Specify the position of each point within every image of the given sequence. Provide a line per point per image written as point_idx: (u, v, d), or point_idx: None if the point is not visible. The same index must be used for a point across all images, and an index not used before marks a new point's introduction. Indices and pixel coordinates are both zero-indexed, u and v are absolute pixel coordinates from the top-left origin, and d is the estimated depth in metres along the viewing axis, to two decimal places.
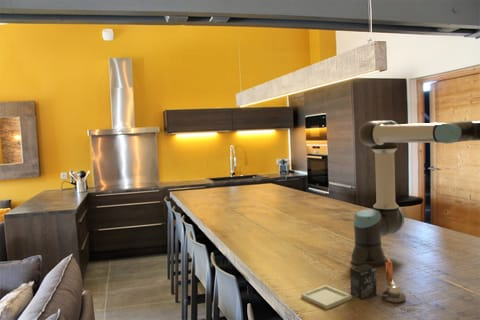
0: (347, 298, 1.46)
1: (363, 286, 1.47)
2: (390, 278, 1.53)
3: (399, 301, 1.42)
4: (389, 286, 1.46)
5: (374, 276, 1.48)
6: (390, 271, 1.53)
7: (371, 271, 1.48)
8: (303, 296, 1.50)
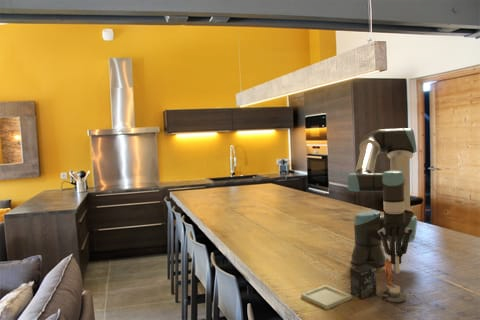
0: (347, 298, 1.46)
1: (363, 286, 1.47)
2: (389, 278, 1.53)
3: (399, 301, 1.42)
4: (389, 286, 1.46)
5: (374, 276, 1.48)
6: (389, 271, 1.53)
7: (371, 271, 1.48)
8: (303, 296, 1.50)
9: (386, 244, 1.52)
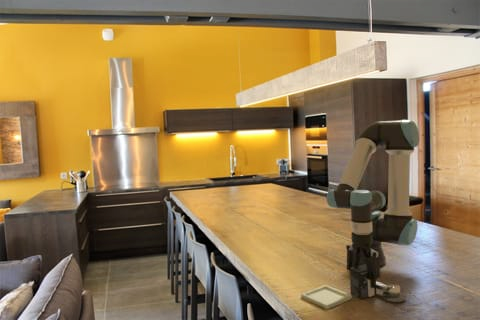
0: (347, 298, 1.46)
1: (363, 286, 1.47)
2: None
3: (399, 301, 1.42)
4: (391, 287, 1.45)
5: None
6: None
7: None
8: (303, 296, 1.50)
9: None
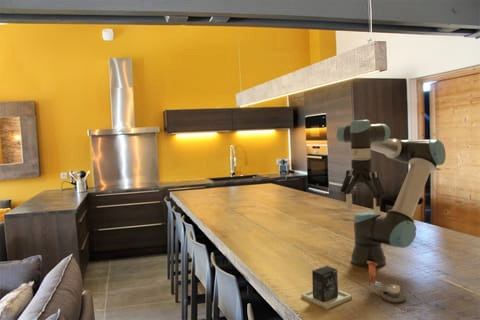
0: (347, 298, 1.46)
1: (326, 288, 1.45)
2: (375, 280, 1.52)
3: (399, 301, 1.42)
4: (391, 287, 1.45)
5: (336, 277, 1.48)
6: (375, 273, 1.52)
7: (332, 272, 1.47)
8: (303, 296, 1.50)
9: None
